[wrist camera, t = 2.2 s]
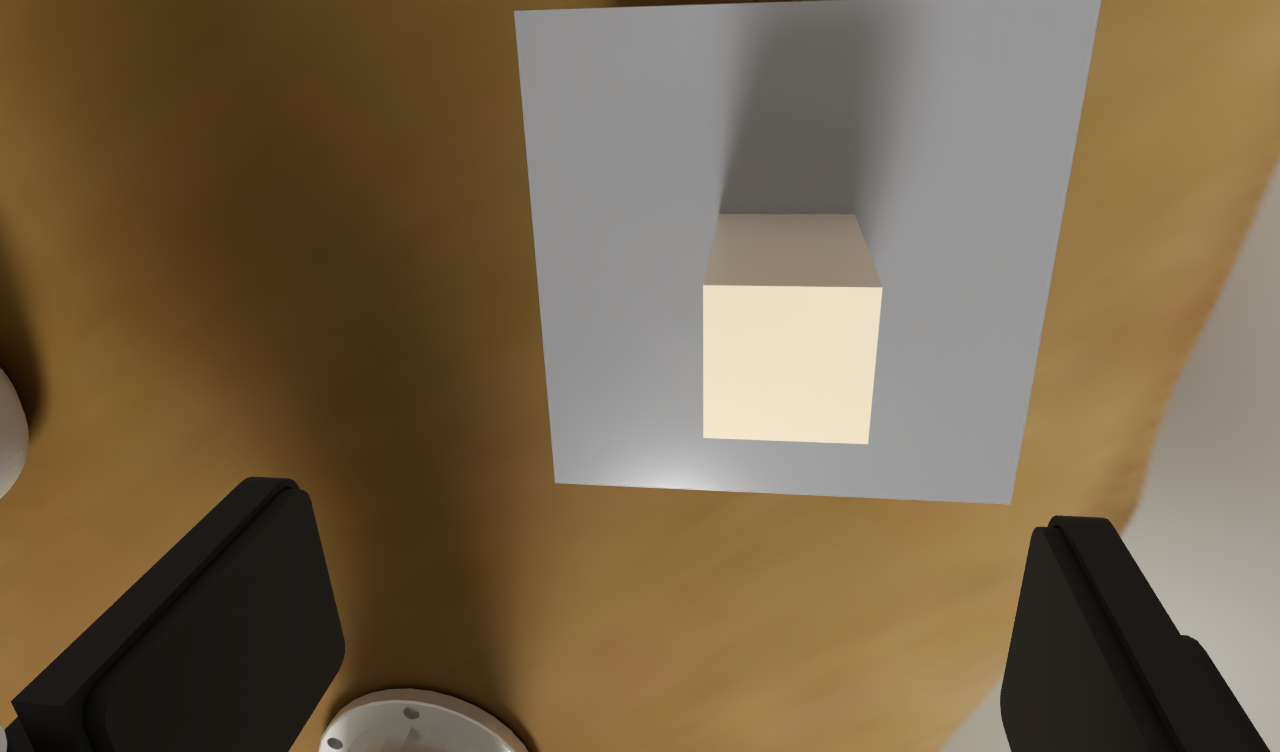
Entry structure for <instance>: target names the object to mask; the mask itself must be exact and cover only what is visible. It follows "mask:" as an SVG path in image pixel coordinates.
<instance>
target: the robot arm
mask: <svg viewBox="0 0 1280 752" xmlns="http://www.w3.org/2000/svg"><path fill="white" fill-rule="evenodd" d="M344 654H345V641H344V636H343V632H342V628H341V624H340V619H339V615H338V611H337V607H336V603H335V599H334V595H333V590H332V586H331V582H330V578H329V574H328V570H327V566H326V561H325V557H324V553H323V549H322V545H321V541H320V537H319V532H318V528H317V524H316V520H315V516H314V512H313V508H312V503H311V500H310V497H309V495H308V494H307V492H306V491H304V490H300V489H299V487H298V485H297V484H296V482H295V481H294V480H291V479H287V478H266V477H249V478H246V479H245V480H243V481H242V482H241V483H240V484H239V485H238V486H237V487H235V488H234V489H233V490H232V491H231V492H230V493H229V494H228V495H227V496H226V497H225V498H224V499H223V500H222V501H221V502H220V503H219V504H218V505H217V506H216V507H214V508H213V509H212V510H211V511H210V512H209V513H208V514H207V515H206V516H205V517H204V518H203V519H202V520H201V521H200V522H199V523H198V524H197V525H196V526H195V527H193V528H192V529H191V530H190V531H189V532H188V533H187V534H186V535H185V536H184V537H183V538H182V539H181V540H180V541H179V542H178V543H177V544H176V545H175V546H174V547H173V548H171V549H170V550H169V551H168V552H167V553H166V554H165V555H164V556H163V557H162V558H161V559H160V560H159V561H158V562H157V563H156V564H155V565H154V566H153V567H152V568H150V569H149V570H148V571H147V572H146V573H145V574H144V575H143V576H142V577H141V578H140V579H139V580H138V581H137V582H136V583H135V584H134V585H133V586H132V587H131V588H129V589H128V590H127V591H126V592H125V593H124V594H123V595H122V596H121V597H120V598H119V599H118V600H117V601H116V602H115V603H114V604H113V605H112V606H111V607H110V608H108V609H107V610H106V611H105V612H104V613H103V614H102V615H101V616H100V617H99V618H98V619H97V620H96V621H95V622H94V623H93V624H92V625H91V626H90V627H89V628H88V629H86V630H85V631H84V632H83V633H82V634H81V635H80V636H79V637H78V638H77V639H76V640H75V641H74V642H73V643H72V644H71V645H70V646H69V647H68V648H67V649H65V650H64V651H63V652H62V653H61V654H60V655H59V656H58V657H57V658H56V659H55V660H54V661H53V662H52V663H51V664H50V665H49V666H48V667H47V668H46V669H44V670H43V671H42V672H41V673H40V674H39V675H38V676H37V677H36V678H35V679H34V680H33V681H32V682H31V683H30V684H29V685H28V686H27V687H26V688H25V689H23V690H22V691H21V692H20V693H19V694H18V695H17V696H16V697H15V698H14V699H13V700H12V701H11V703H12V705H13V707H14V709H15V711H16V713H17V715H18V717H17V718H16V719H15V720H14V721H13V722H12V723H11V724H10V725H9V726H8V727H7V728H6V729H5V730H4V729H3V728H2V727H1V726H0V752H288V751H289V750H290V748H291V746H292V745H293V743H294V742H295V740H296V738H297V737H298V735H299V734H300V732H301V730H302V729H303V727H304V726H305V724H306V722H307V721H308V719H309V718H310V716H311V714H312V713H313V711H314V710H315V708H316V706H317V705H318V703H319V702H320V700H321V698H322V697H323V695H324V694H325V692H326V690H327V689H328V687H329V686H330V684H331V682H332V681H333V679H334V678H335V676H336V674H337V673H338V671H339V669H340V667H341V665H342V662H343V659H344ZM1000 697H1001V698H1000V706H1001V716H1002V722H1003V726H1004V729H1005V732H1006V735H1007V739H1008V742H1009V745H1010V748H1011V751H1012V752H1270V750H1269V749H1268V747H1267V746H1266V744H1265V743H1264V741H1263V739H1262V738H1261V736H1260V735H1259V733H1258V732H1257V730H1256V729H1255V727H1254V726H1253V724H1252V722H1251V721H1250V719H1249V718H1248V716H1247V715H1246V713H1245V712H1244V710H1243V708H1242V707H1241V705H1240V704H1239V702H1238V701H1237V699H1236V697H1235V696H1234V694H1233V693H1232V691H1231V690H1230V688H1229V687H1228V685H1227V683H1226V682H1225V680H1224V679H1223V677H1222V676H1221V674H1220V672H1219V671H1218V669H1217V668H1216V666H1215V665H1214V663H1213V662H1212V660H1211V658H1210V657H1209V655H1208V654H1207V652H1206V651H1205V650H1204V648H1203V647H1202V646H1201V645H1200V644H1199V642H1198V641H1197V640H1195V639H1193V638H1191V637H1189V636H1187V635H1180V633H1179V631H1178V630H1177V628H1176V627H1175V625H1174V623H1173V622H1172V620H1171V619H1170V617H1169V615H1168V614H1167V612H1166V611H1165V609H1164V607H1163V606H1162V604H1161V602H1160V601H1159V599H1158V598H1157V596H1156V594H1155V593H1154V591H1153V590H1152V588H1151V586H1150V585H1149V583H1148V581H1147V580H1146V578H1145V577H1144V575H1143V573H1142V572H1141V570H1140V569H1139V567H1138V565H1137V564H1136V562H1135V560H1134V559H1133V557H1132V556H1131V554H1130V552H1129V551H1128V549H1127V548H1126V546H1125V544H1124V543H1123V541H1122V539H1121V538H1120V536H1119V535H1118V533H1117V531H1116V530H1115V528H1114V527H1113V525H1112V524H1111V522H1110V521H1109V520H1108V519H1105V518H1097V517H1076V516H1054V517H1052V519H1051V520H1050V522H1049V524H1048V527H1036V528H1035V529H1034V531H1033V533H1032V536H1031V541H1030V546H1029V551H1028V556H1027V561H1026V566H1025V571H1024V576H1023V582H1022V587H1021V592H1020V597H1019V602H1018V607H1017V612H1016V617H1015V622H1014V627H1013V632H1012V638H1011V643H1010V648H1009V653H1008V658H1007V663H1006V668H1005V673H1004V678H1003V683H1002V689H1001V696H1000ZM318 752H528V750H527V749H526V747H525V745H524V744H523V743H522V742H521V741H520V740H519V739H518V738H517V737H516V735H515V734H514V733H513V732H512V731H511V730H510V729H509V728H507V727H506V726H505V725H504V724H502V723H501V722H500V721H499V720H497V719H496V718H495V717H494V716H492V715H490V714H488V713H487V712H485V711H483V710H482V709H480V708H478V707H477V706H475V705H472V704H470V703H468V702H465V701H463V700H460V699H458V698H456V697H453V696H449V695H445V694H441V693H438V692H434V691H427V690H419V689H388V690H383V691H378V692H373V693H369V694H367V695H364V696H362V697H360V698H357V699H355V700H353V701H352V702H350V703H349V704H347V705H346V706H345V707H343V708H342V709H341V710H340V711H339V712H338V713H337V714H336V716H335V717H334V718H333V719H332V721H331V722H330V724H329V725H328V727H327V729H326V731H325V732H324V734H323V736H322V738H321V741H320V744H319V748H318Z"/></svg>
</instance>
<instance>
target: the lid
mask: <svg viewBox="0 0 1280 752" xmlns="http://www.w3.org/2000/svg"><path fill="white" fill-rule="evenodd" d="M1100 5H1101V0H810V1H779V2H749V3H718V4H688V5H658V6H627V7H597V8H566V9H536V10H518V11H514V16H515V27H516V39H517V50H518V62H519V73H520V85H521V96H522V108H523V119H524V131H525V142H526V154H527V165H528V176H529V188H530V199H531V211H532V222H533V234H534V245H535V257H536V268H537V280H538V291H539V303H540V314H541V326H542V337H543V349H544V360H545V372H546V383H547V395H548V406H549V417H550V429H551V440H552V452H553V463H554V475H555V483H564V484H585V485H606V486H628V487H649V488H671V489H692V490H713V491H735V492H756V493H777V494H799V495H820V496H842V497H863V498H884V499H906V500H927V501H949V502H970V503H991V504H1011V499H1012V494H1013V488H1014V483H1015V477H1016V472H1017V466H1018V461H1019V455H1020V449H1021V444H1022V438H1023V433H1024V427H1025V422H1026V416H1027V411H1028V405H1029V399H1030V394H1031V388H1032V383H1033V377H1034V372H1035V366H1036V361H1037V355H1038V350H1039V344H1040V338H1041V333H1042V327H1043V322H1044V316H1045V311H1046V305H1047V300H1048V294H1049V288H1050V283H1051V277H1052V272H1053V266H1054V261H1055V255H1056V250H1057V244H1058V238H1059V233H1060V227H1061V222H1062V216H1063V211H1064V205H1065V200H1066V194H1067V188H1068V183H1069V177H1070V172H1071V166H1072V161H1073V155H1074V150H1075V144H1076V138H1077V133H1078V127H1079V122H1080V116H1081V111H1082V105H1083V100H1084V94H1085V88H1086V83H1087V77H1088V72H1089V66H1090V61H1091V55H1092V50H1093V44H1094V38H1095V33H1096V27H1097V22H1098V16H1099V11H1100Z"/></svg>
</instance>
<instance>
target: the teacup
mask: <svg viewBox="0 0 1280 752" xmlns="http://www.w3.org/2000/svg"><path fill="white" fill-rule="evenodd" d="M28 445H29V433H28V425H27V421H26V416H25V413H24V411H23V408H22V405H21V402H20V400H19V397H18V395H17V392H16V390H15V388H14V386H13V385H12V383H11V381H10V380H9V378H8V376H7V375H6V374H5V373H4V371H3V370H2V369H1V368H0V499H1V498H2V497H3V496H4V495H5V494H6V492H7V491H8V490H9V489H10V488H11V487H12V485H13V484H14V483H15V481H16V480H17V478H18V477H19V475H20V473H21V471H22V469H23V467H24V464H25V461H26V457H27V453H28Z"/></svg>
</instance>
